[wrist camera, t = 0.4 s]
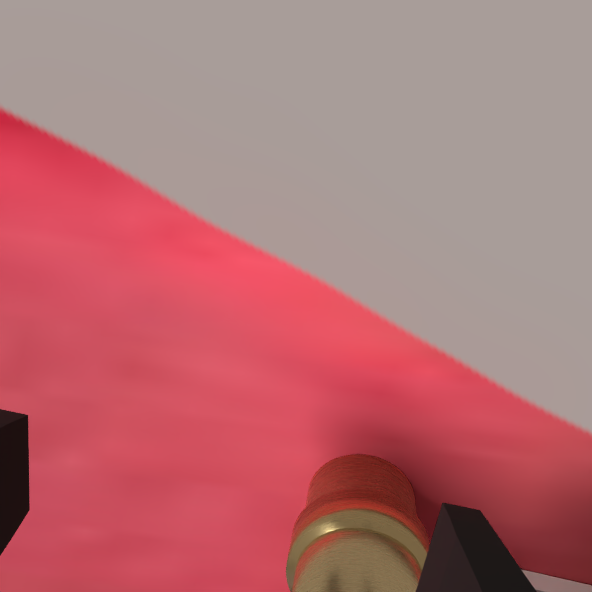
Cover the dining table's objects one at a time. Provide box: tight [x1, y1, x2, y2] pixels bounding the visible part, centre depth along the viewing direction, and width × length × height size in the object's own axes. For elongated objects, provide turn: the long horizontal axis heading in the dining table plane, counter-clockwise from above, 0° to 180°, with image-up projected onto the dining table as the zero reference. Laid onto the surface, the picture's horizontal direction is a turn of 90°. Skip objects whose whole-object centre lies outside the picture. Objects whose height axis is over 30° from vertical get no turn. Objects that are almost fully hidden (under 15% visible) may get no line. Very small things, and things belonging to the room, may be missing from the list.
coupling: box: [286, 454, 430, 592], centre depth 18 cm, size 5×5×6 cm
